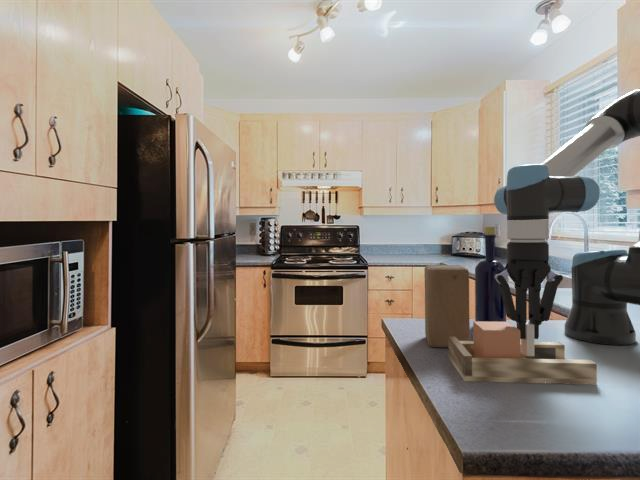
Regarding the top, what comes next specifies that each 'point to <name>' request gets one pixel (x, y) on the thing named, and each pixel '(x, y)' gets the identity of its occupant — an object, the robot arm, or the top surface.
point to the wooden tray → (522, 365)
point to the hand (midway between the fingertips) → (527, 353)
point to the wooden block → (446, 304)
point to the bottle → (489, 284)
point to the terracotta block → (496, 340)
